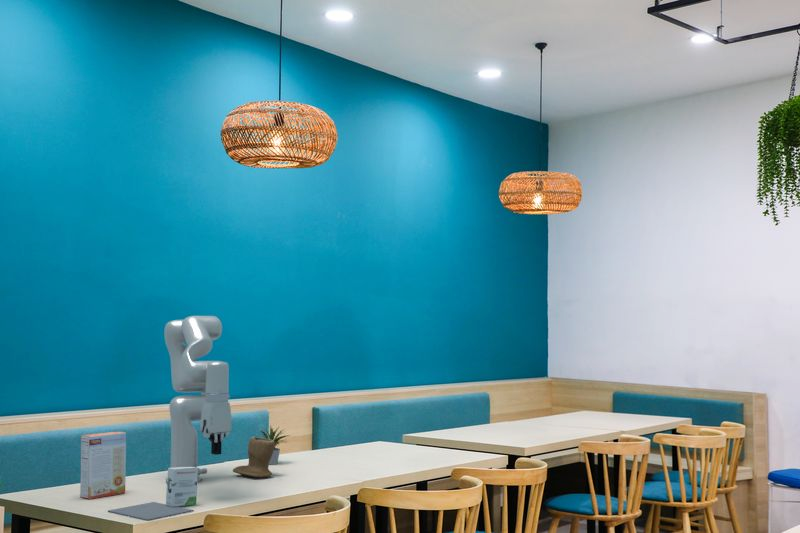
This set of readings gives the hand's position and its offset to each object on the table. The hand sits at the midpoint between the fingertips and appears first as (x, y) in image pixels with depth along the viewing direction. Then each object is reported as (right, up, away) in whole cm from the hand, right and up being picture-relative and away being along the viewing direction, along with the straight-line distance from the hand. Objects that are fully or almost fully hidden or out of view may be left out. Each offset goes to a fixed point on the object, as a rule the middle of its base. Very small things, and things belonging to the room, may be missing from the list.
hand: (216, 454), depth 287 cm
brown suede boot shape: (+6, -18, +44) cm, 48 cm away
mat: (-16, -13, -21) cm, 29 cm away
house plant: (+7, -20, +72) cm, 75 cm away
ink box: (-9, -14, -12) cm, 20 cm away
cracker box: (-40, -15, +4) cm, 43 cm away
